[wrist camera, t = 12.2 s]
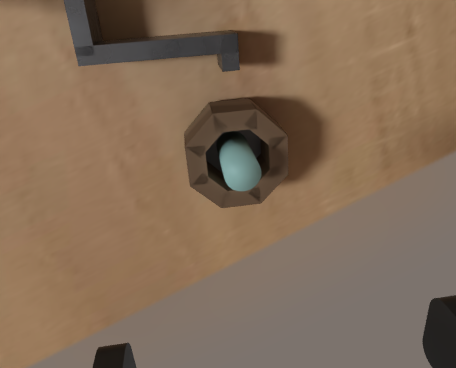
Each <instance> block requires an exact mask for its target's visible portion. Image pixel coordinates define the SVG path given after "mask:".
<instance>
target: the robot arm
mask: <svg viewBox="0 0 456 368" xmlns="http://www.w3.org/2000/svg"><path fill="white" fill-rule="evenodd" d="M423 348H424V352H425V355H426V357H427V359H428V361H429V363H430V365H431V366H432V367H433V368H456V295H455V296H448V297H441V298H434V299H433V300H431V302H430V305H429V310H428V315H427V320H426V325H425V330H424V335H423ZM93 368H136V364H135V361H134V357H133V353H132V349H131V346H130V344H129V343H124V344H117V345H110V346H104V347H99V348H98V350H97V352H96V355H95V360H94V364H93Z"/></svg>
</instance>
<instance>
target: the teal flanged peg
mask: <svg viewBox="0 0 456 368" xmlns="http://www.w3.org/2000/svg"><path fill="white" fill-rule="evenodd" d="M205 154H206V161H207V162H209V163H210V164H211V165H213V166H214V167H216V168H217V169H218V170H220V171H221V172H222V173H223V175H224V179H225V182H226V183H227V185H228V186H229V187H230V188H232V189H233V190H236V191H247V190H250V189H252V188H253V187H255V186H256V185H257V184H258V182H259V181H260V178H261V168H260V165H259V163H258V161H257V159H256V158H257V157H258V156H259V155H260V154H261V143H260V137H258V136H257V135H256V134H255V133H253V132H252V131H251V130H250V129H248V130H239V131H230V132H222V134H221V135H220V136H219V137H218V138H217V140H216V141H215V142H214V143H213V144H212V145H211V147H210V148H209V149H208V150H207V151H206V152H205Z"/></svg>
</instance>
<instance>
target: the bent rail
mask: <svg viewBox="0 0 456 368" xmlns="http://www.w3.org/2000/svg"><path fill="white" fill-rule="evenodd" d="M64 4H65V8H66V13H67V17H68V21H69V26H70V30H71V35H72V39H73V43H74V48H75V52H76V57H77V61H78V65H79V66H86V65H97V64H109V63H120V62H131V61H143V60H154V59H166V58H177V57H189V56H200V55H212V54H217V59H218V65H219V67H220V68H221V70H222V71H223V72H224V71H235V70H240V67H239V49H238V33H236V32H234V31H232V30H228V31H216V32H204V33H192V34H180V35H168V36H155V37H143V38H131V39H119V40H107V41H103V40H102V35H101V30H100V25H99V20H98V15H97V10H96V4H95V0H64Z"/></svg>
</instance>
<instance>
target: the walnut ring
mask: <svg viewBox="0 0 456 368" xmlns="http://www.w3.org/2000/svg"><path fill="white" fill-rule="evenodd" d="M248 129H250V130H251V131H252V132H253V133H255V134H256V135H257V136H258V137H260V143H261V154H260V155H259V156H258V157H257V158H256V159H257V161H258V163H259V165H260V168H261V178H260V181H259V182H258V184H257V185H256V186H255V187H253V188H252V189H250V190H247V191H236V190H233V189H232V188H230V187H229V186H228V185H227V183H226V182H225V179H224V175H223V173H222V172H221V171H220V170H218V169H217V168H216V167H214V166H213V165H211V164H210V163H209V162H207V161H206V154H205V152H206V151H207V150H208V149H209V148H210V147H211V145H212V144H213V143H214V142H215V141H216V140H217V138H218V137H219V136H220V135H221V134H222V132H230V131H239V130H248ZM184 136H185V151H186V159H187V166H188V174H189V182H190V186H191V187H192V188H193V189H195V190H196V191H198V192H199V193H201V194H202V195H203V196H205V197H206V198H208V199H209V200H211V201H212V202H214V203H215V204H216V205H218V206H219V207H221V208H227V207H235V206H244V205H252V204H260V203H262V202H263V201H264V200H265V199H266V198H267V196H268V195H269V194H270V193H271V192H272V191H273V190H274V189H275V188H276V187H277V186H278V185H279V184H280V183H281V182H282V181H283V179H284V178H285V177H286V176H287V175H288V136H287V134H286V133H285V132H284V131H283V129H282V128H281V127H280V126H279V125H278V123H277V122H276V121H275V120H273V119H272V118H271V117H270V116H269V115H268V114H266V113H265V112H264V111H263V110H262V109H261V108H259V107H258V106H257V105H256V104H255V103H254V102H252V101H251V100H250V99H248V98H245V99H235V100H225V101H216V102H209V103H208V104H207V105H206V107H205V108H204V109H203V110H202V111H201V113H200V114H199V115H198V116H197V118H196V119H195V120H194V121H193V122H192V124H191V125H190V126H189V127H188V128H187V130H186V131H185V133H184Z"/></svg>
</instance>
